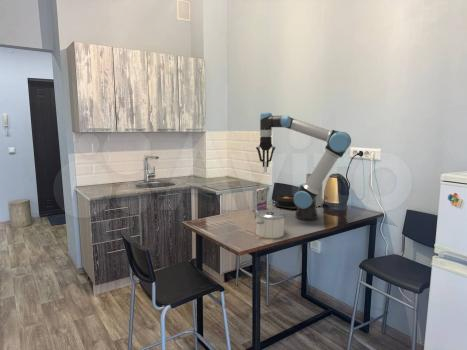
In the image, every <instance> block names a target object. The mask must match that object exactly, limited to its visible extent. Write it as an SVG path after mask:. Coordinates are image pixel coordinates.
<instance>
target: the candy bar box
mask: <svg viewBox="0 0 467 350" xmlns="http://www.w3.org/2000/svg"><path fill="white" fill-rule="evenodd" d="M267 192H268V189H267V188H265V187H260V188H255V189H252V212H255V211H259V210H268V209H267V202H268V200H267V198H268V197H267V195H268V194H267Z"/></svg>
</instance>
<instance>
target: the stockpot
mask: <svg viewBox="0 0 467 350" xmlns="http://www.w3.org/2000/svg"><path fill="white" fill-rule="evenodd" d="M254 219H255V220H256V221H255V235H257V236H258V237H260V238H265V239H278V238H279V239H280V238H281V237H283V236H285V235H284V234H285V217H284V218H282V219H276V220H270V219H263V218H259V217H257V216H256V214H255V213H254Z"/></svg>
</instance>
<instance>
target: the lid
mask: <svg viewBox="0 0 467 350" xmlns="http://www.w3.org/2000/svg"><path fill="white" fill-rule="evenodd" d="M253 212H254V211H253ZM255 214H256V216H257V217H259V218H263V219H270V220H276V219H282V218H284V219H285V217H286V213H285V212H283V211H281V210H276V209H267V210H259V211H255V212H254V215H255Z"/></svg>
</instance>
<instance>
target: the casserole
mask: <svg viewBox="0 0 467 350" xmlns="http://www.w3.org/2000/svg"><path fill="white" fill-rule="evenodd" d="M294 195H295V194H280V195H278V196H277V198H276V200H277V201H273V202H272V203H273V204H274V205H275V206H277V207H280V208H282V209H287V210H289V209H294V210H295V209H296V210H297V209H298V207H297V206H296V205H295V203H294Z"/></svg>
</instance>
